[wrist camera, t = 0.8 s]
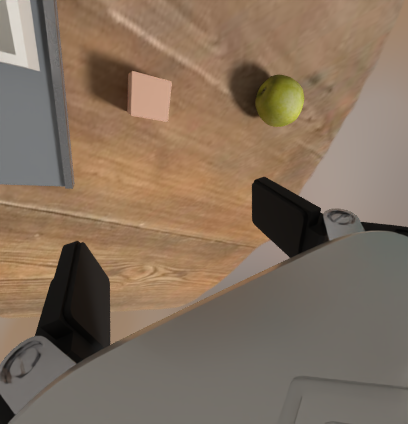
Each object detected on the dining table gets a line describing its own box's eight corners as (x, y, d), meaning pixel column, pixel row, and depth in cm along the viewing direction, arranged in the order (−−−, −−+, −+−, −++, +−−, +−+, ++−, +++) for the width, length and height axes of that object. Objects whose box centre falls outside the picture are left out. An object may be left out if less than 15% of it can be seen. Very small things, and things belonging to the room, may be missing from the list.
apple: (269, 131, 43) (297, 138, 36) (239, 109, 38) (265, 112, 32) (289, 95, 41) (323, 95, 34) (261, 66, 36) (294, 60, 29)
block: (128, 74, 29) (132, 70, 24) (162, 83, 31) (171, 81, 26) (127, 111, 31) (130, 115, 26) (159, 117, 33) (167, 122, 29)
